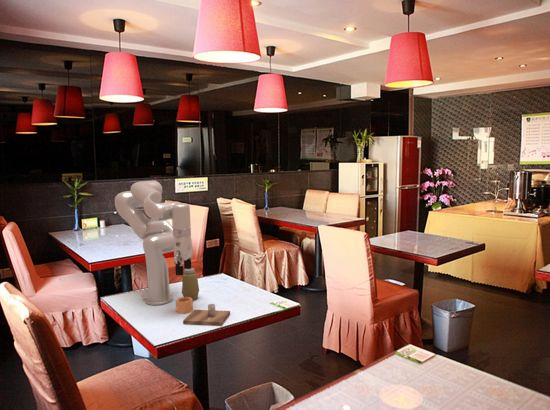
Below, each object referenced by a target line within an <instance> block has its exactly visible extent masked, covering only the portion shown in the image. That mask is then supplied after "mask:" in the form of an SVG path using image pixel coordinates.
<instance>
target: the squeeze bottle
mask: <svg viewBox="0 0 550 410" xmlns="http://www.w3.org/2000/svg"><path fill="white" fill-rule="evenodd" d="M198 280H199V279H198V274H197V272H195V268H194V267H192V265H191V269H183V275H182V281H181V282H182V283H181V284H182V285H181V293H182V295H183V296H182V297H190V298H192V299H193V301H195V300H197V299H198V295H199V294H200V293H199V292H200V286H199V281H198Z"/></svg>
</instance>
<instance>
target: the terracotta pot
mask: <svg viewBox="0 0 550 410" xmlns="http://www.w3.org/2000/svg"><path fill="white" fill-rule="evenodd" d="M193 301H194V300H193V299H192V298H190V297H184V296H182V297H179V298H178V297H177V299H176V300H175V311H176V313H177V314H181V315H182V314H184V315H185V314H190V313H191V312H192V311H193V310H194V302H193Z"/></svg>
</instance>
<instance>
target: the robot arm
mask: <svg viewBox="0 0 550 410" xmlns="http://www.w3.org/2000/svg"><path fill="white" fill-rule="evenodd" d="M162 194H163V186H162V185H161V183H160V182H158V181H157V180H142V181H137V182H134V183H133V184H132V185H131V186H130V190H126V191H125V190H124V191H122V192H120V193H117V195H115V197H114V207H115V209H116V212H117V213H118V215H119V216H120V217H121V218H122V220H124V221H125V222H126V223H128V225H129V226H130V228H131V229H132V230H133V232H134V233H135V234H136V236H137V237H138V238H139V239H140V240H142V249H143V252H144V255H145V265H146V274H147V275H146V276H147V277H146V278H147V291H146V290H145V291H144V290H142V291H141V292H140V294H141V295H140V296H141V297H142V298H143V297H145V300H144V302H145V303H146V304H147V305H151V306H160V305H166V304H169V303H171V302H172V301H173V300H174V296H173V294H170V281H169V280H170V278H169V275H170V274H169V263H168V261H167V259H166V257H165V256H164V254H167V253H172V252H173V256H174V257H173V261H174V267H175V269H174V270H175V276H183V274H184V270H185V269H191V266H192V257H193V255H194V254H193V243H192V237H191V236H192V227H191V209H190V205H189V204H188V203H182V202H180V201H168V202H162V199H163V198H162V197H163V196H162ZM137 208H143V210H144V213H143V212H142V211H141V210H139V209H137ZM145 214H146V215H147V216H148V217H149V218H148V217H147V216H146V215H145ZM168 220H171V223H172V224H170V222H169V221H168Z"/></svg>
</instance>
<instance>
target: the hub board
mask: <svg viewBox="0 0 550 410" xmlns="http://www.w3.org/2000/svg"><path fill="white" fill-rule="evenodd" d="M230 316H231V311H230V310H216V304H214V303H210V304H207V309H193V311H192V312H190V313H188V315H187V316H186V317H185V318H184V319H183V320H182V322H183V323H182V324H183V325H195V326H216V327H222V326H223V325H224V323H225V322H226V321H227V320H228V318H229V317H230Z"/></svg>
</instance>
